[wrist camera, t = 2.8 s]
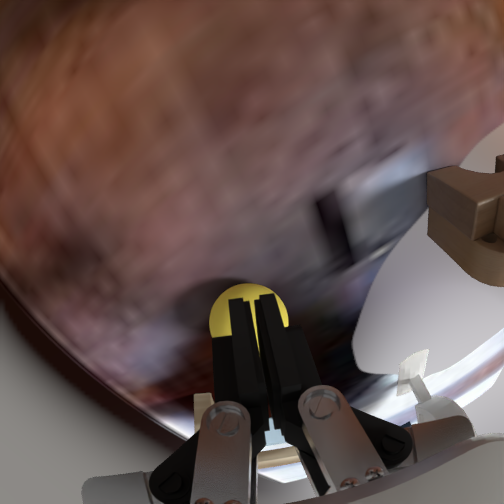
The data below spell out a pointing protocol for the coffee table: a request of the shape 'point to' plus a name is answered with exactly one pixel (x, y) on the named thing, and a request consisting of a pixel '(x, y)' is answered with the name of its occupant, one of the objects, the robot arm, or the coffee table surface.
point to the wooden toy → (469, 219)
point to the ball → (249, 292)
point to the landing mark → (273, 435)
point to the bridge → (264, 457)
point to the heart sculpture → (424, 391)
